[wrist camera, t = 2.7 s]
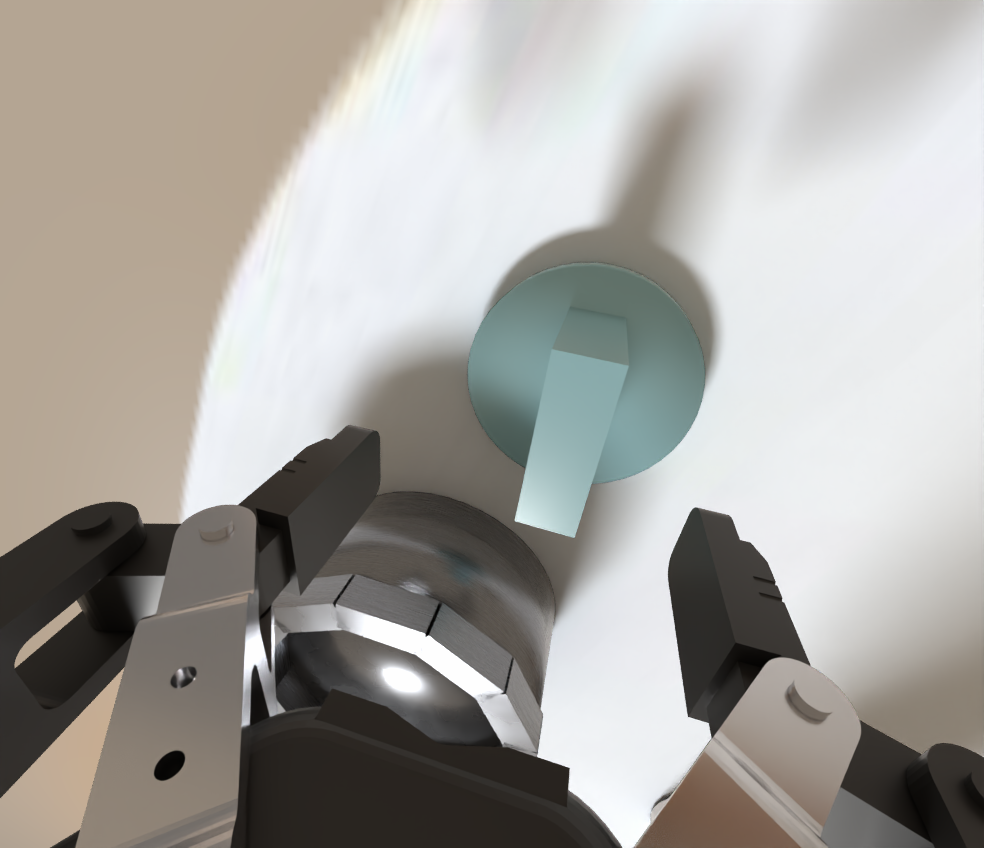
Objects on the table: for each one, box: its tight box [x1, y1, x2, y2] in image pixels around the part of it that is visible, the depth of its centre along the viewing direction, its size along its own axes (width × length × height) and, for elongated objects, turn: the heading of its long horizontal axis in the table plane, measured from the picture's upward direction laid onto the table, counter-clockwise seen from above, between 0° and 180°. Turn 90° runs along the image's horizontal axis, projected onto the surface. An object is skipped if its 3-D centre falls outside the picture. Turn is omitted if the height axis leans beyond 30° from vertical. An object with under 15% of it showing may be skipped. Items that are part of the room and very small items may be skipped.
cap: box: [468, 262, 705, 538], centre depth 15 cm, size 9×9×6 cm
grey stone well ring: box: [273, 492, 555, 757], centre depth 23 cm, size 14×14×8 cm
